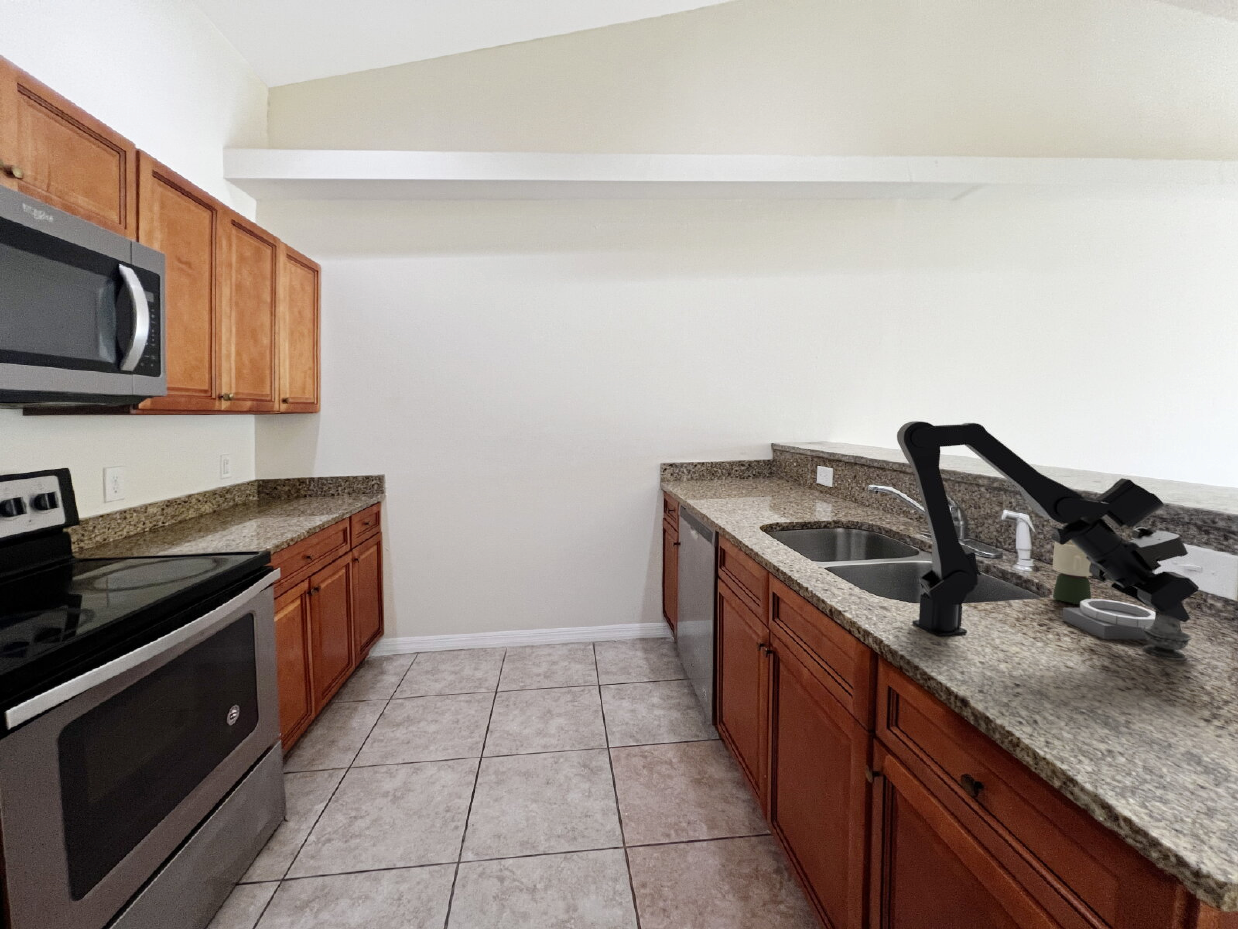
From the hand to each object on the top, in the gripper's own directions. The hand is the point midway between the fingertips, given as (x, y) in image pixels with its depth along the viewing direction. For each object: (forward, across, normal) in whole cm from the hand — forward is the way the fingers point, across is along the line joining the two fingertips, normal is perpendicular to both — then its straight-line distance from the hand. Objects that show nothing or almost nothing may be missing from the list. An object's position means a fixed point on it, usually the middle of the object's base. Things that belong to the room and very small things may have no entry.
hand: (1178, 616), depth 89 cm
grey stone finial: (+4, 0, +6) cm, 7 cm away
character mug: (+2, +25, +8) cm, 26 cm away
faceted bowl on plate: (+2, +10, +7) cm, 12 cm away
